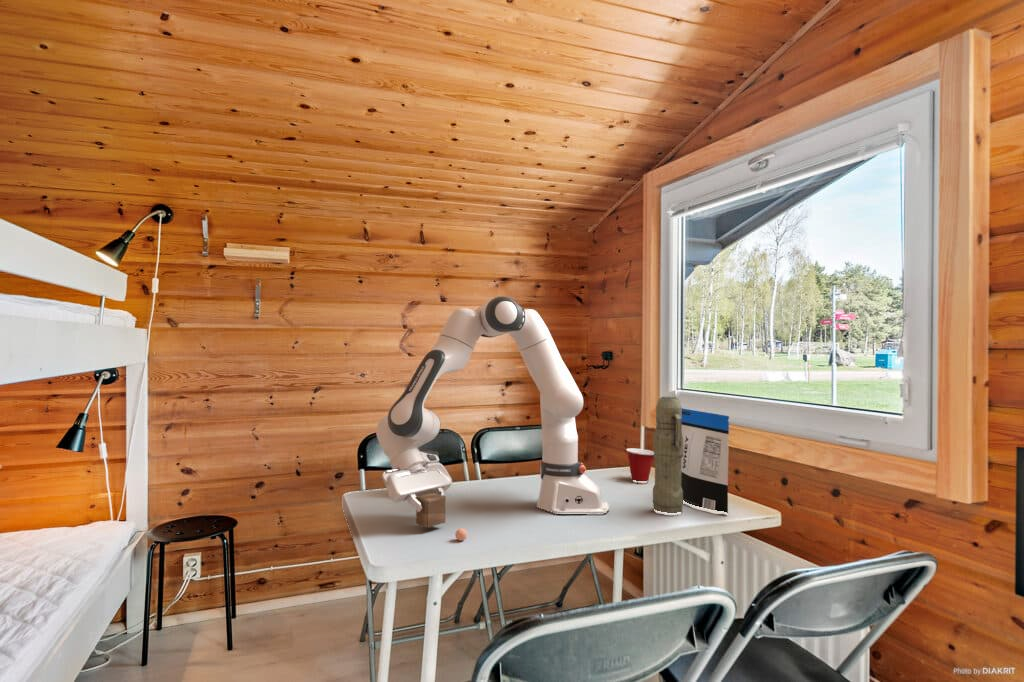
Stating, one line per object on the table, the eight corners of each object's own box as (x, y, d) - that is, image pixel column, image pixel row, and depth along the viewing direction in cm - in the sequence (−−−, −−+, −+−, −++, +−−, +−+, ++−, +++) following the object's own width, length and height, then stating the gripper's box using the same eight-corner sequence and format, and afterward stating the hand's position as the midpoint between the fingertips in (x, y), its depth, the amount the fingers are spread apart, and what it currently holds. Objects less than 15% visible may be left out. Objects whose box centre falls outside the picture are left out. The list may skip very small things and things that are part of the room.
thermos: (667, 505, 187) (668, 395, 188) (691, 515, 176) (693, 398, 177) (643, 507, 184) (645, 395, 184) (667, 518, 173) (669, 399, 173)
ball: (467, 538, 152) (468, 527, 152) (465, 542, 149) (465, 530, 149) (456, 538, 152) (456, 526, 152) (454, 542, 149) (454, 530, 149)
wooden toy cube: (416, 523, 159) (416, 497, 159) (433, 518, 164) (433, 493, 164) (428, 527, 156) (428, 500, 156) (445, 522, 161) (445, 496, 161)
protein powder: (714, 517, 175) (715, 416, 175) (666, 497, 197) (667, 408, 198) (740, 515, 178) (741, 415, 178) (689, 495, 201) (690, 407, 201)
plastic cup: (658, 485, 214) (659, 452, 214) (629, 485, 214) (629, 452, 214) (651, 479, 225) (651, 447, 225) (623, 478, 225) (623, 447, 225)
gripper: (384, 464, 157) (407, 508, 150) (441, 454, 172) (464, 493, 166) (374, 478, 159) (396, 522, 153) (431, 467, 175) (453, 506, 169)
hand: (432, 507), depth 160 cm, fingers closed on wooden toy cube, 6 cm apart
